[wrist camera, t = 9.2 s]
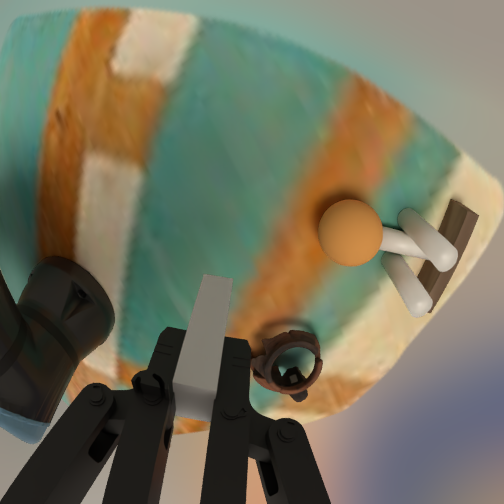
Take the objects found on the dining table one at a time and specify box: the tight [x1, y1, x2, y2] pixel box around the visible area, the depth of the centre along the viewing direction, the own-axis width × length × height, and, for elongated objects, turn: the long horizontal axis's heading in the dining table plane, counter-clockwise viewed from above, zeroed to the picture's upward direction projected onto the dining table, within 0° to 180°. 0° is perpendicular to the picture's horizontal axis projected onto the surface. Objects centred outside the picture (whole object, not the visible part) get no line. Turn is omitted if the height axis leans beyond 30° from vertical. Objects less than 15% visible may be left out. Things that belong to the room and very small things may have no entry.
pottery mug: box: [250, 330, 323, 402], centre depth 34 cm, size 12×10×8 cm
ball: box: [318, 199, 383, 266], centre depth 24 cm, size 6×6×6 cm
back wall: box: [417, 199, 479, 313], centre depth 26 cm, size 2×13×4 cm, turn 170°
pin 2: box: [381, 251, 433, 317], centre depth 25 cm, size 2×2×8 cm
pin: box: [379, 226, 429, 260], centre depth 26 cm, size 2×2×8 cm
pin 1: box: [397, 208, 458, 272], centre depth 22 cm, size 2×2×8 cm
